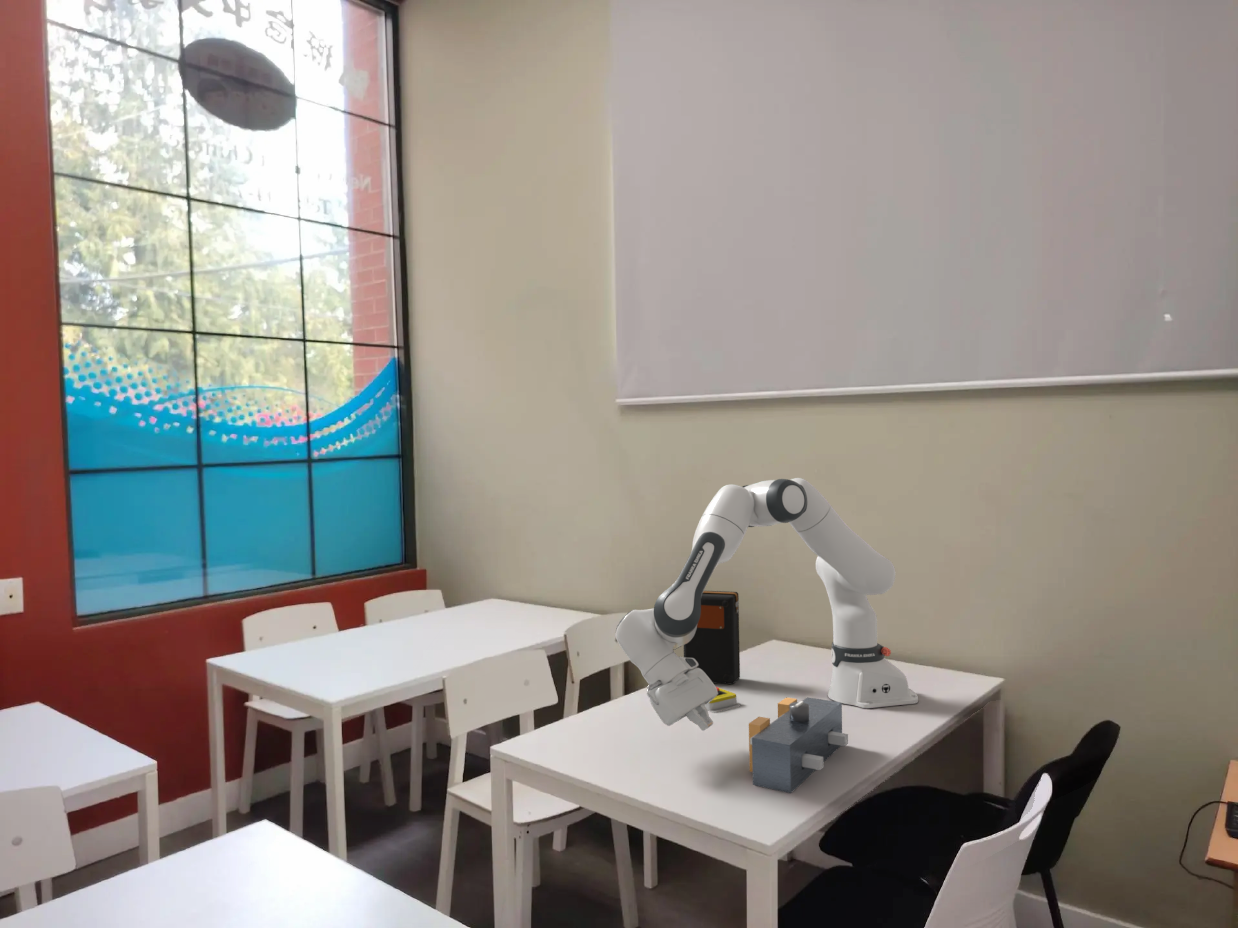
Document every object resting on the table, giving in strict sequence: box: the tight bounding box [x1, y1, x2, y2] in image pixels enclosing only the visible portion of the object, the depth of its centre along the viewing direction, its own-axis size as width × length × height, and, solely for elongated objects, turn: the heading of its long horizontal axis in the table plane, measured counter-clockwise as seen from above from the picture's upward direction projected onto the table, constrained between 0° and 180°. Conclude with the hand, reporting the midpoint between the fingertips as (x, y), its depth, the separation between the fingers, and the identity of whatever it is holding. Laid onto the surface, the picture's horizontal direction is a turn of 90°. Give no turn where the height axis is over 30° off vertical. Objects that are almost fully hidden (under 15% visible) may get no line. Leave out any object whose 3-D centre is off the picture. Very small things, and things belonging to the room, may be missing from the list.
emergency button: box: [705, 686, 741, 714], centre depth 227 cm, size 9×4×15 cm
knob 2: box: [777, 696, 849, 747], centre depth 191 cm, size 14×5×10 cm, turn 57°
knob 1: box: [748, 716, 824, 773], centre depth 178 cm, size 14×5×10 cm, turn 57°
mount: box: [750, 697, 843, 794], centre depth 185 cm, size 8×30×10 cm, turn 147°
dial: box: [789, 700, 809, 722], centre depth 184 cm, size 4×4×3 cm
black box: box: [682, 590, 741, 685], centre depth 247 cm, size 16×9×25 cm, turn 71°
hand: (708, 727), depth 187 cm, fingers closed
